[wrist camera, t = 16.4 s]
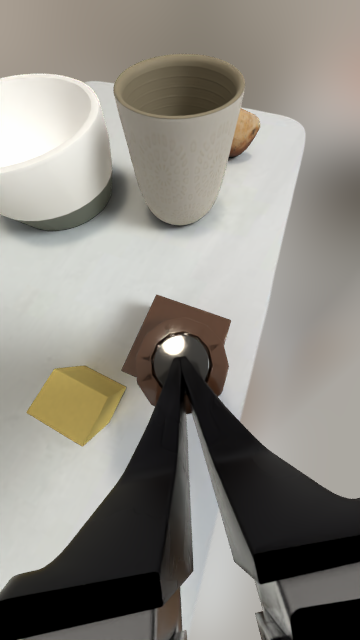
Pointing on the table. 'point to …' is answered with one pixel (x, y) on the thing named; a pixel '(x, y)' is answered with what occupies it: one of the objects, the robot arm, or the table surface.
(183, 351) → the dark grey short cylinder
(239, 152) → the vegetable
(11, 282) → the table surface
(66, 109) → the bowl
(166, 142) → the planter
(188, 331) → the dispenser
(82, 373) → the yellow block
